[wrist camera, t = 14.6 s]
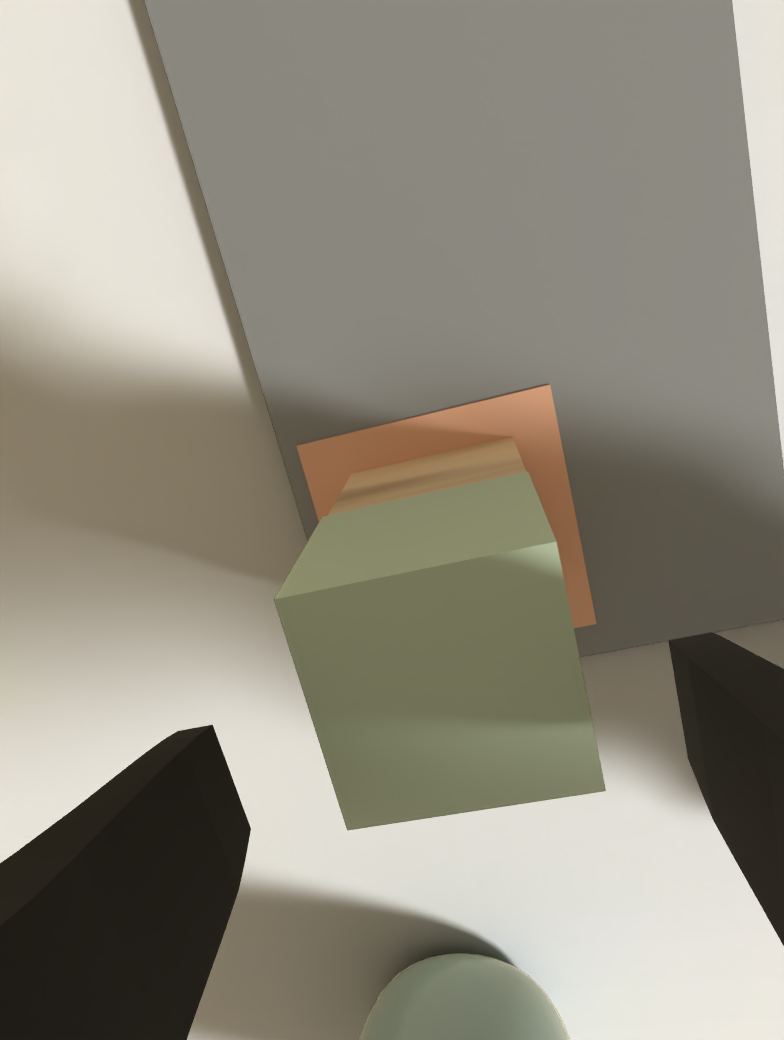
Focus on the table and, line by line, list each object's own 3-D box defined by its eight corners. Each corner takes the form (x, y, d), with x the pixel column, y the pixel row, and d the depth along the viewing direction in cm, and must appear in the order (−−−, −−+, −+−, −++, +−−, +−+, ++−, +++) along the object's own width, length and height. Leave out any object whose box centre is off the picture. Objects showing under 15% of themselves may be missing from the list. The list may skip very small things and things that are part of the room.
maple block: (544, 588, 21) (567, 665, 17) (391, 619, 21) (375, 701, 17) (512, 436, 20) (528, 476, 15) (351, 474, 20) (323, 522, 16)
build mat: (791, 609, 21) (801, 618, 20) (357, 690, 23) (355, 700, 22) (683, -351, 15) (692, -376, 15) (110, -131, 17) (98, -146, 16)
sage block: (566, 661, 16) (606, 790, 12) (374, 695, 17) (347, 830, 13) (528, 471, 15) (556, 541, 11) (322, 516, 16) (273, 599, 12)
